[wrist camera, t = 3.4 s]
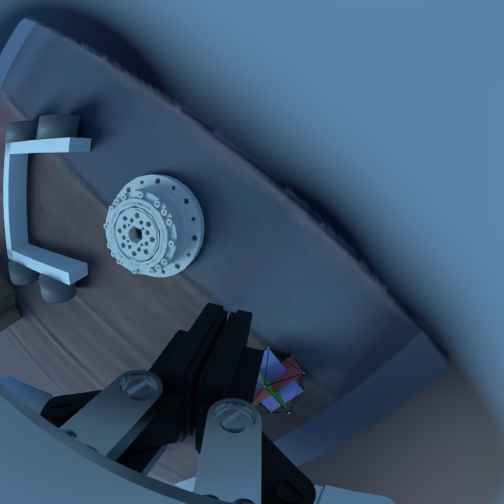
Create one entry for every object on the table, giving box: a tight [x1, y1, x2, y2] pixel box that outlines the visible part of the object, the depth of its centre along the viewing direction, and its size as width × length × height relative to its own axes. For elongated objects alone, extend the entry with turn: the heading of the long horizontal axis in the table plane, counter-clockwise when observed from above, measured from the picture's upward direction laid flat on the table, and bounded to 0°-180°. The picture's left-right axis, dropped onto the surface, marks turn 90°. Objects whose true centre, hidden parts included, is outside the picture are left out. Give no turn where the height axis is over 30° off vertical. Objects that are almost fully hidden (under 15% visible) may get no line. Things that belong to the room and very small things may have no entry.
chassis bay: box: [4, 114, 91, 303], centre depth 26 cm, size 21×14×5 cm
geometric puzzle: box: [252, 347, 305, 414], centre depth 26 cm, size 7×7×8 cm
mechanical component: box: [104, 174, 205, 277], centre depth 25 cm, size 10×4×10 cm
